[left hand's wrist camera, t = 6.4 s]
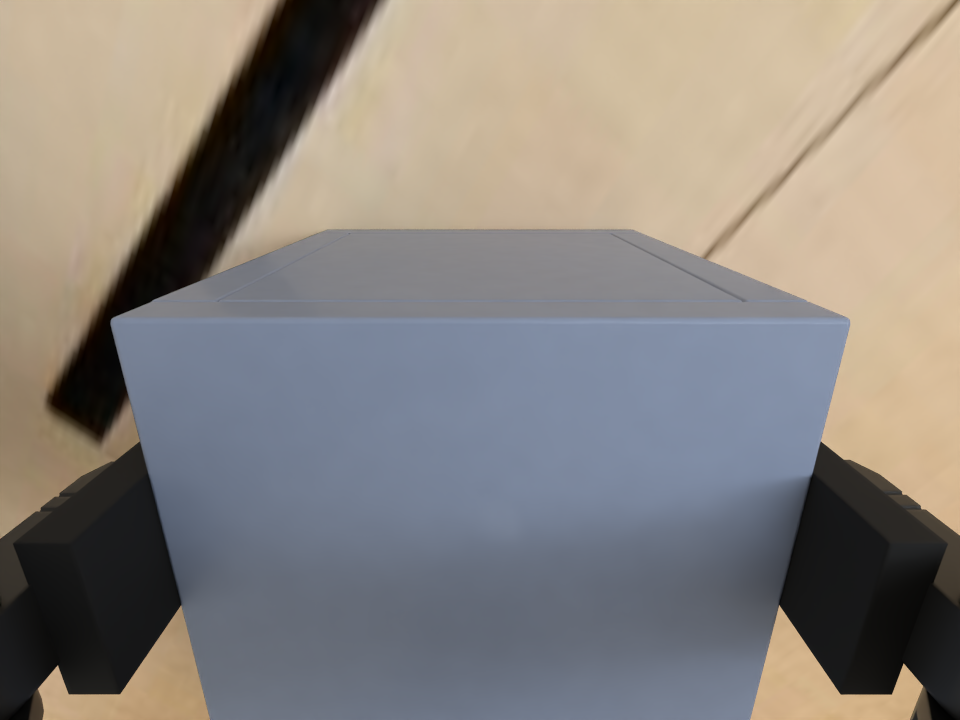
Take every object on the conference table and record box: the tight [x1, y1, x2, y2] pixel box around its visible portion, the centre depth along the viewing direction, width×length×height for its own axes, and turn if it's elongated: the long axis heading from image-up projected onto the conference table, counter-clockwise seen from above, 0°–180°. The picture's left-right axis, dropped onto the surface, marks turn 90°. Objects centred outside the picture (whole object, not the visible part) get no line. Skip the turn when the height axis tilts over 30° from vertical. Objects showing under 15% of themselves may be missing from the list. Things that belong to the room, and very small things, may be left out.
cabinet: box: [111, 230, 850, 720], centre depth 16 cm, size 17×11×11 cm, turn 0°
